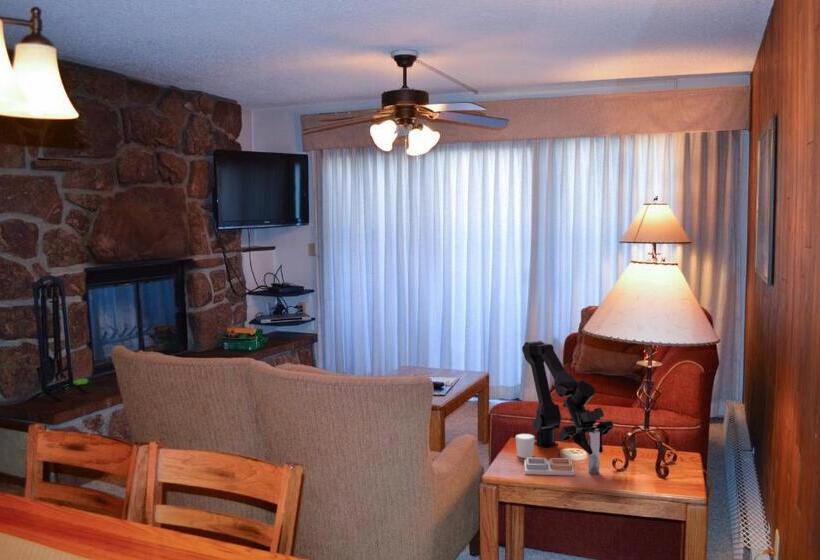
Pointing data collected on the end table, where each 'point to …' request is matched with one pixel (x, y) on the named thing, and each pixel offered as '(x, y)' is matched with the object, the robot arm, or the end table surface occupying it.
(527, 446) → the white cup
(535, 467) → the grey compartment tray
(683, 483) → the end table surface
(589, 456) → the steel pin
